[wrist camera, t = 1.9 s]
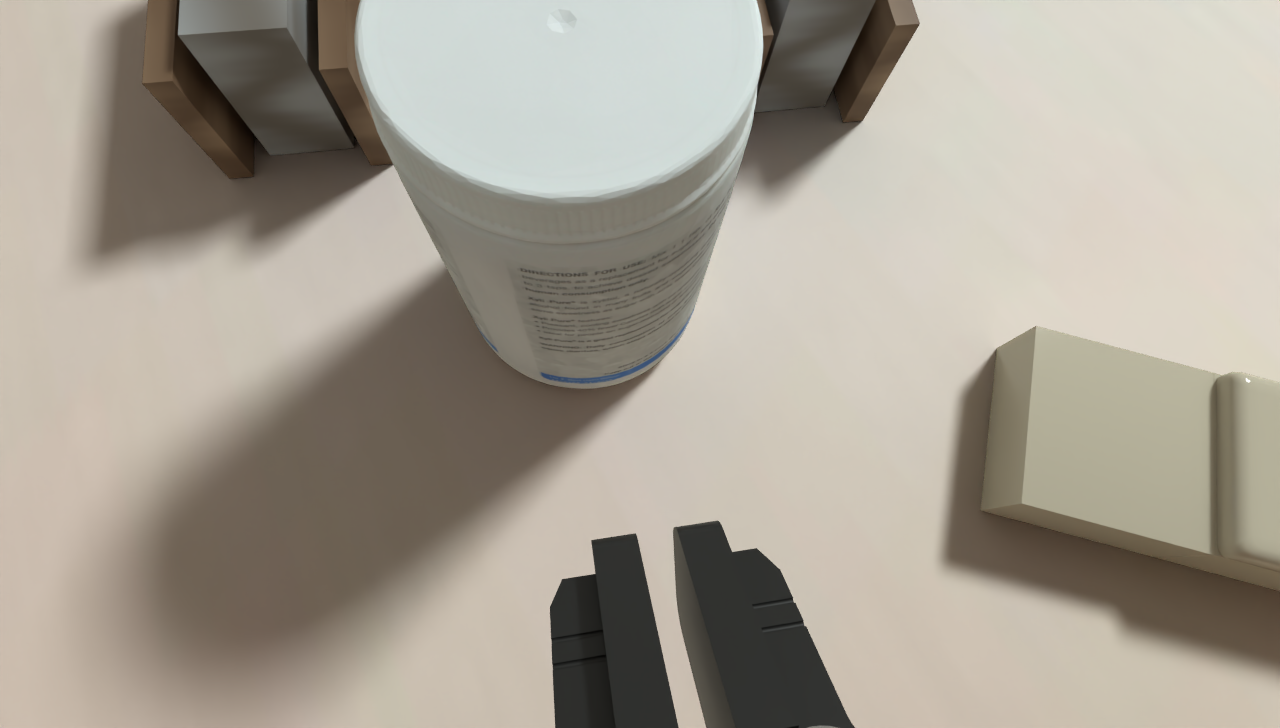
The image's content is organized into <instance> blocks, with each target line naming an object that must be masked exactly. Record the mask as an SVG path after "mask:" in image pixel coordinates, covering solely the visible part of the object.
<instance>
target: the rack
mask: <svg viewBox="0 0 1280 728" xmlns="http://www.w3.org/2000/svg"><path fill="white" fill-rule="evenodd" d="M359 3H360V0H148V9H147V23H146V36H145V50H144V64H143V78H142V84H143V85H144V86H145V87H146V88H147V89H148V90H149V91H150V93H151V94H152V95H153V96H154V97H155V98H156V99H157V100H158V101H159V102H160V103H161V105H162V106H163V107H164V108H165V109H166V110H167V111H168V112H169V113H170V114H171V115H172V116H173V118H174V119H175V120H176V121H177V122H178V123H179V124H180V125H181V126H182V127H183V128H184V130H185V131H186V132H187V133H188V134H189V135H190V136H191V137H192V138H193V139H194V140H195V142H196V143H197V144H198V145H199V146H200V147H201V148H202V149H203V150H204V151H205V152H206V154H207V155H208V156H209V157H210V158H211V159H212V160H213V161H214V162H215V163H216V164H217V166H218V167H219V168H220V169H221V170H222V171H223V172H224V173H225V174H226V175H227V176H228V178H229V179H232V178H243V177H254V135H255V136H256V137H257V139H258V140H259V141H260V143H261V144H262V145H263V146H264V148H265V149H266V150H267V152H268V153H269V154H270V155H281V154H292V153H304V152H315V151H326V150H337V149H349V148H354V135H355V137H356V139H357V141H358V143H359V144H360V146H361V148H362V150H363V152H364V154H365V155H366V157H367V159H368V161H369V163H370V165H371V166H374V165H385V164H393V163H392V161H391V159H390V157H389V155H388V153H387V150H386V149H385V147H384V145H383V143H382V141H381V139H380V137H379V135H378V132H377V129H376V126H375V123H374V120H373V117H372V114H371V110H370V106H369V100H368V98H367V95H366V93H365V90H364V88H363V85H362V83H361V80H360V76H359V71H358V67H357V62H356V57H355V40H354V33H355V23H356V16H357V11H358V7H359ZM757 4H758V8H759V12H760V17H761V23H762V31H763V56H762V65H761V70H760V75H759V80H758V85H757V98H756V105H755V110H754V112H765V111H776V110H787V109H799V108H810V107H821V106H825V104H826V102H827V99H828V97H829V95H830V93H831V91H832V89H834V92H835V96H836V99H837V103H838V106H839V110H840V114H841V117H842V121H843V122H853V121H863V119H864V118H865V116H866V114H867V113H868V111H869V109H870V108H871V106H872V104H873V102H874V101H875V99H876V97H877V96H878V94H879V92H880V91H881V89H882V87H883V85H884V84H885V82H886V80H887V79H888V77H889V75H890V74H891V72H892V70H893V68H894V67H895V65H896V63H897V62H898V60H899V58H900V57H901V55H902V53H903V51H904V50H905V48H906V46H907V45H908V43H909V41H910V40H911V38H912V36H913V34H914V33H915V31H916V29H917V28H918V26H919V24H920V23H919V20H918V17H917V14H916V11H915V8H914V5H913V2H912V0H757Z"/></svg>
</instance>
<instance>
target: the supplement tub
mask: <svg viewBox="0 0 1280 728" xmlns="http://www.w3.org/2000/svg"><path fill="white" fill-rule="evenodd" d="M354 40H355V57H356V62H357V67H358V71H359V76H360V80H361V83H362V85H363V88H364V90H365V93H366V95H367V98H368V100H369V106H370V110H371V114H372V117H373V120H374V123H375V126H376V129H377V132H378V135H379V137H380V139H381V141H382V143H383V145H384V147H385V149H386V150H387V153H388V155H389V157H390V159H391V161H392V163H393V165H394V167H395V168H396V170H397V172H398V174H399V177H400V179H401V181H402V183H403V185H404V187H405V189H406V191H407V192H408V194H409V196H410V198H411V200H412V202H413V204H414V206H415V208H416V210H417V212H418V214H419V216H420V218H421V220H422V222H423V223H424V225H425V227H426V229H427V231H428V233H429V235H430V237H431V239H432V241H433V243H434V245H435V247H436V249H437V250H438V252H439V254H440V256H441V258H442V260H443V262H444V264H445V266H446V268H447V270H448V272H449V274H450V276H451V278H452V279H453V281H454V283H455V285H456V287H457V289H458V291H459V293H460V295H461V297H462V299H463V301H464V303H465V305H466V307H467V309H468V311H469V312H470V314H471V316H472V318H473V320H474V322H475V324H476V326H477V327H478V329H479V331H480V333H481V334H482V336H483V338H484V339H485V341H486V342H487V343H488V345H489V346H490V347H491V348H492V349H493V351H494V352H495V353H496V354H497V355H498V356H499V357H500V358H501V359H502V360H503V361H505V362H506V363H507V364H508V365H510V366H511V367H512V368H514V369H515V370H517V371H519V372H520V373H522V374H524V375H526V376H528V377H530V378H532V379H534V380H537V381H540V382H543V383H546V384H549V385H553V386H559V387H566V388H579V389H590V388H601V387H607V386H611V385H615V384H619V383H622V382H625V381H627V380H630V379H632V378H634V377H636V376H638V375H640V374H642V373H644V372H646V371H647V370H649V369H650V368H651V367H653V366H654V365H656V364H657V363H658V362H659V361H660V360H662V359H663V358H664V357H665V356H666V355H667V354H668V353H669V352H670V351H671V350H672V349H673V347H674V346H675V345H676V344H677V342H678V341H679V340H680V338H681V337H682V335H683V333H684V331H685V329H686V327H687V325H688V323H689V321H690V318H691V315H692V313H693V310H694V307H695V304H696V301H697V298H698V295H699V292H700V289H701V286H702V282H703V279H704V276H705V273H706V270H707V267H708V264H709V261H710V258H711V255H712V252H713V248H714V245H715V242H716V239H717V236H718V233H719V230H720V227H721V224H722V221H723V218H724V215H725V211H726V208H727V205H728V202H729V199H730V196H731V193H732V190H733V186H734V183H735V180H736V177H737V174H738V171H739V168H740V165H741V162H742V158H743V155H744V151H745V148H746V144H747V141H748V138H749V135H750V131H751V127H752V122H753V117H754V110H755V105H756V98H757V85H758V80H759V75H760V70H761V65H762V56H763V31H762V23H761V17H760V12H759V8H758V4H757V0H360V3H359V7H358V11H357V16H356V23H355V33H354Z"/></svg>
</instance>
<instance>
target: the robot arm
mask: <svg viewBox="0 0 1280 728" xmlns="http://www.w3.org/2000/svg"><path fill="white" fill-rule="evenodd" d="M673 540H674V560H675V580H676V597H677V606H678V613H679V619H680V625H681V630H682V634H683V638H684V642H685V646H686V650H687V654H688V658H689V662H690V665H691V669H692V673H693V677H694V681H695V685H696V689H697V693H698V697H699V701H700V704H701V708H702V712H703V716H704V720H705V724H706V728H855V727H854V726H853V725H852V723H851V721H850V720H849V718H848V716H847V714H846V712H845V710H844V708H843V706H842V703H841V701H840V699H839V697H838V695H837V692H836V690H835V688H834V686H833V684H832V682H831V679H830V677H829V675H828V673H827V671H826V669H825V666H824V664H823V662H822V660H821V658H820V656H819V653H818V651H817V649H816V647H815V645H814V642H813V640H812V638H811V636H810V634H809V632H808V629H807V627H806V626H804V622H803V619H802V616H801V614H800V612H799V610H798V608H797V606H796V603H794V602H793V597H792V595H791V593H790V590H789V588H788V586H787V584H786V582H785V579H784V577H783V575H782V573H781V571H780V569H779V568H777V567H776V566H775V565H774V564H773V563H772V562H771V561H770V560H769V559H768V558H767V557H765V556H764V555H763V554H762V553H761V552H760V551H759V550H758V549H757V548H756V549H749V550H743V551H737V552H732V551H731V548H730V546H729V543H728V541H727V538H726V535H725V533H724V530H723V528H722V525H721V524H720V522H719V521H713V522H706V523H700V524H693V525H687V526H680V527H674V530H673ZM591 541H592V549H593V557H594V565H595V573H596V574H593V575H587V576H580V577H574V578H568V579H562V581H561V583H560V586H559V588H558V590H557V593H556V595H555V597H554V599H553V602H552V604H551V606H550V620H551V639H552V664H553V685H554V707H555V728H678V723H677V719H676V714H675V709H674V705H673V700H672V696H671V691H670V686H669V682H668V677H667V673H666V668H665V663H664V659H663V654H662V650H661V645H660V640H659V636H658V631H657V627H656V622H655V617H654V613H653V608H652V604H651V599H650V594H649V590H648V585H647V581H646V576H645V571H644V567H643V562H642V558H641V553H640V548H639V544H638V539H637V536H636V533H635V534H629V535H622V536H616V537H609V538H603V539H596V540H591Z"/></svg>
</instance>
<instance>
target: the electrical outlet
mask: <svg viewBox="0 0 1280 728" xmlns="http://www.w3.org/2000/svg"><path fill="white" fill-rule="evenodd" d="M981 511H984V512H988V513H992V514H995V515H999V516H1003V517H1007V518H1010V519H1014V520H1018V521H1021V522H1025V523H1029V524H1032V525H1036V526H1040V527H1044V528H1047V529H1051V530H1055V531H1058V532H1062V533H1066V534H1070V535H1073V536H1077V537H1081V538H1084V539H1088V540H1092V541H1095V542H1099V543H1103V544H1107V545H1110V546H1114V547H1118V548H1121V549H1125V550H1129V551H1132V552H1136V553H1140V554H1144V555H1147V556H1151V557H1155V558H1158V559H1162V560H1166V561H1170V562H1173V563H1177V564H1181V565H1184V566H1188V567H1192V568H1195V569H1199V570H1203V571H1207V572H1210V573H1214V574H1218V575H1221V576H1225V577H1229V578H1233V579H1236V580H1240V581H1244V582H1247V583H1251V584H1255V585H1258V586H1262V587H1266V588H1270V589H1273V590H1277V591H1280V382H1277V381H1273V380H1269V379H1265V378H1261V377H1258V376H1254V375H1250V374H1246V373H1242V372H1231V373H1228V374H1225V375H1220V374H1216V373H1212V372H1208V371H1204V370H1201V369H1197V368H1193V367H1189V366H1185V365H1182V364H1178V363H1174V362H1170V361H1167V360H1163V359H1159V358H1155V357H1151V356H1148V355H1144V354H1140V353H1136V352H1133V351H1129V350H1125V349H1121V348H1117V347H1114V346H1110V345H1106V344H1102V343H1099V342H1095V341H1091V340H1087V339H1083V338H1080V337H1076V336H1072V335H1068V334H1065V333H1061V332H1057V331H1053V330H1049V329H1046V328H1042V327H1038V326H1035V327H1033V328H1032V329H1030V330H1028V331H1026V332H1025V333H1023V334H1021V335H1019V336H1018V337H1016V338H1014V339H1012V340H1011V341H1009V342H1007V343H1005V344H1003V345H1002V346H1000V347H998V348H997V351H996V361H995V371H994V381H993V391H992V401H991V411H990V421H989V431H988V440H987V450H986V460H985V470H984V480H983V490H982V500H981Z"/></svg>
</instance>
